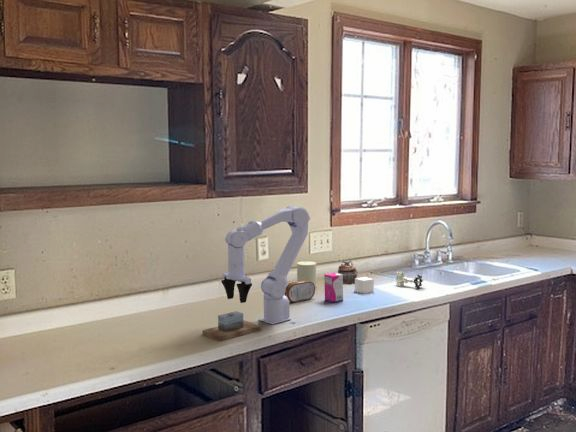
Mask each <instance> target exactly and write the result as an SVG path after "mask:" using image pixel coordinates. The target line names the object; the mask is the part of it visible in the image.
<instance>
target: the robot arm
mask: <svg viewBox="0 0 576 432" xmlns="http://www.w3.org/2000/svg"><path fill="white" fill-rule="evenodd" d="M310 220H311V217H310V215H309V211H308V210H307V209H306V208H304V207H299V206H294V205H287V206H286V207H282V208H281V209H279V210H278V211H276V212H274V213H273V214H271V215H268V216H267V217H265V218H264V219H262V220H259V221H257V220H248V222H247V224H245V225H242V226H237V227H236V229H232V230H230V231H228V232H227V233H226V237H225V238H224V239H225V243H226V244H227V262H228V265H227V267H228V272H227V271H226V272H222V280H221V281H220V282H221V284H222V286H223V288H224V290H225V294H226V298H227V300H231V299H234V295H235V286H236V287H237V290H238V294H239V301H240V302H239V303H240V304H244V303H246V302H247V300H248V299H247V298H248V295H249V292H250V290H251V287H252V286H253V283H252V278H251V277H248V276H247V275H245V245H246V244H247V242H249V241H252V240H253V239H255V238H257V237H260V236H261V235H262V234H263V232H264V230H267V229H268V228H270V227H273V226H275V225H278V224H280V223H282V222H283V223H287V225H289V228H290V230H291V235H290V237H289V239H288V240H287V243H286V245H285V247H284V248H283V251H282V253H281V255H280V257H279V259H278V261H277V263H276V265H275V266H274V267H273V270H271V271H270V272H269V273H268V274H267V275H266V277H265V278H264V279H262V280H261V283H260V288H261V291H262V292H263V317H261V318H259V319H258V320H259V321H261V322H263V323H268V324H271V325H274V324H279V323H282V322H287V321H290V320H292V318H291V317H290V301H289V300H288V298H287V297H286V296H285V292H286V287H287V285H288V284H289V282H288V275H289V272H290V271H291V268H292V266H293V265H294V262H295V261H296V259H297V256H298V254H299V252H300V250H301V248H302V246H303V245H304V242H305V241H306V239H307V236H308V233H309V221H310ZM236 282H238V283H236Z"/></svg>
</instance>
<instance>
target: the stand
mask: <svg viewBox="0 0 576 432" xmlns="http://www.w3.org/2000/svg"><path fill="white" fill-rule="evenodd" d="M243 325H244V327H243V328H239V329H235V330H231V331H227V332H224V331H221V330H218V326H214V327H210V328H206V329H203V330H202V335H203V336H205V337H209V338H211V339H213V340H215V341H218V342H222V341H225V340H229V339H233V338H236V336H237V337H240V336H244V335H247V334H251V333H255V332H259V331H261V330H262V326H261V325H259V324H256V323H253V322H250V321H248V320H245V319H243ZM232 337H233V338H232ZM228 338H229V339H228Z"/></svg>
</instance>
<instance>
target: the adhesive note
mask: <svg viewBox="0 0 576 432" xmlns="http://www.w3.org/2000/svg"><path fill="white" fill-rule="evenodd" d="M374 284H375V283H374V279H373V278H371V277H367V276H362V277H361V276H360V277H357V278H355V283H354V292H357V293H359V294H369V293H374V287H375V286H374Z"/></svg>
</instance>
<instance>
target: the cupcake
mask: <svg viewBox="0 0 576 432" xmlns="http://www.w3.org/2000/svg"><path fill="white" fill-rule="evenodd" d="M337 269H338V270H337V273H338V274H342V275H343V284H355V278H358V273H359V271H358V270H357V268H356V266H354V262H353V261H351V260H350V261H344V260H343V261H342V262H341V263H340V265H339V266H338V268H337Z"/></svg>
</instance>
